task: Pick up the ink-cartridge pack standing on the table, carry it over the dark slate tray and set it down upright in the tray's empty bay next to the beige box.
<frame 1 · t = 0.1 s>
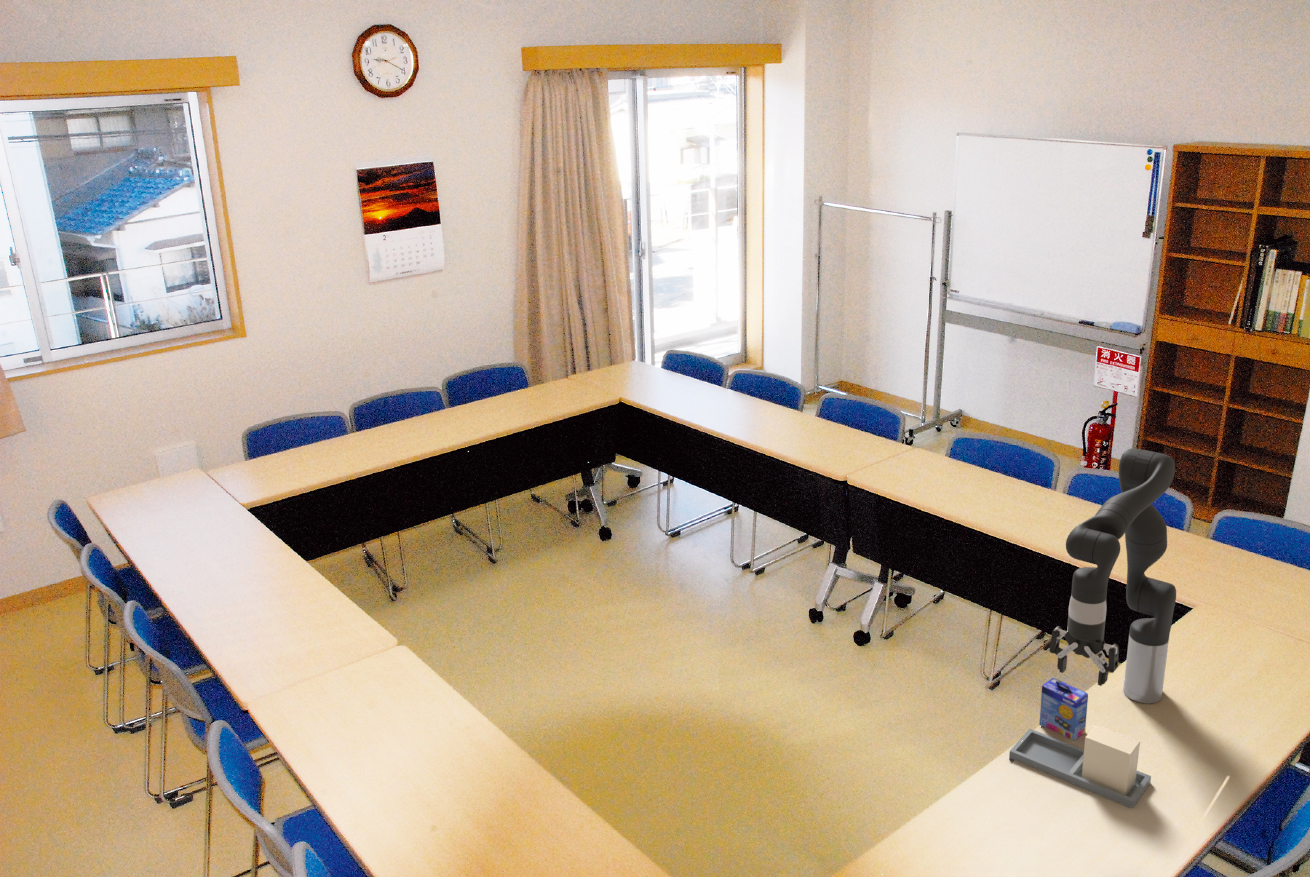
hand: (1081, 677, 233), 29 cm above the table, fingers open, 8 cm apart
beige box: (1108, 781, 242), point 1 cm above the table, touching tray
tray: (1077, 771, 247), on the table
ink cartridge box: (1061, 730, 262), on the table
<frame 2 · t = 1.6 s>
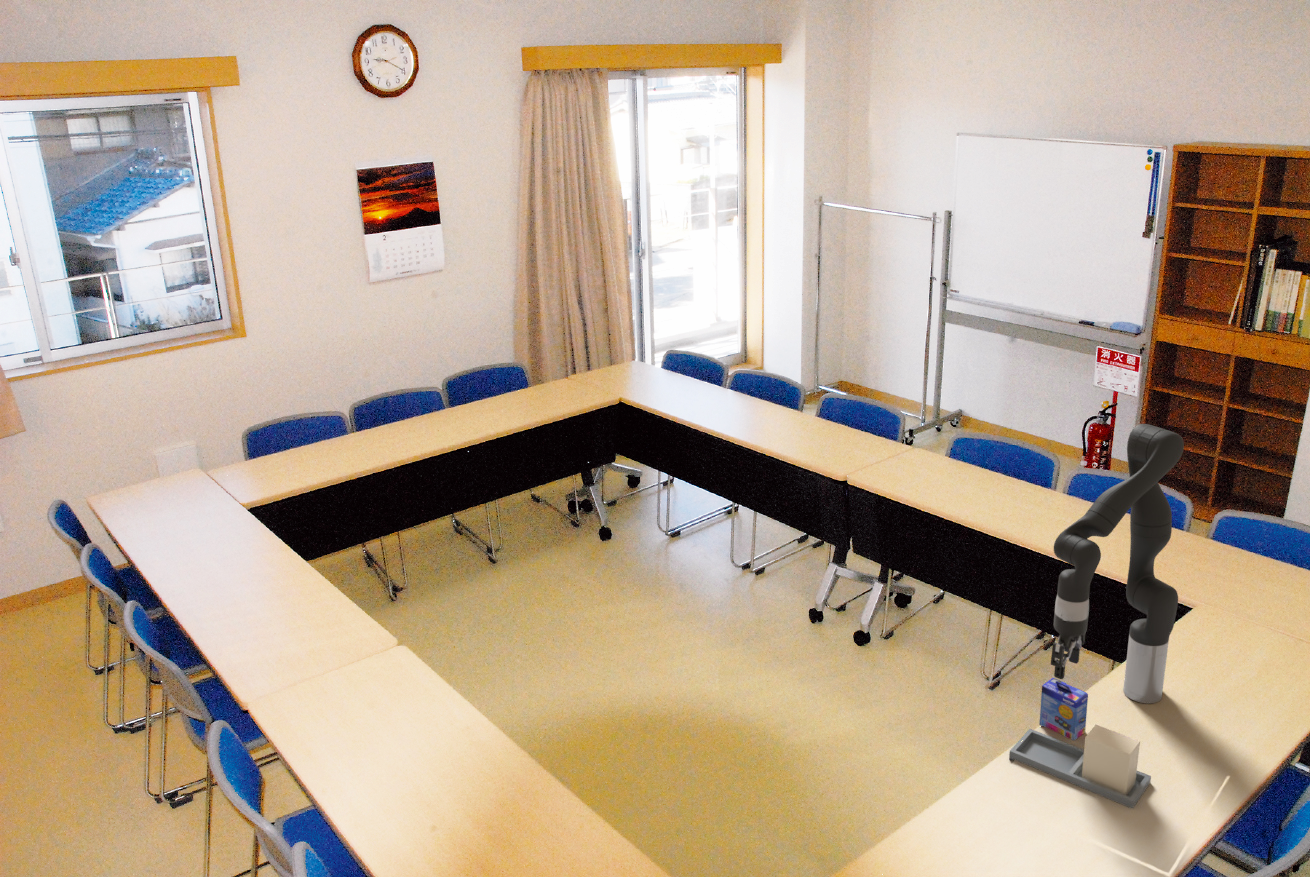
hand: (1066, 669, 256), 18 cm above the table, fingers open, 8 cm apart
nothing on the table moved.
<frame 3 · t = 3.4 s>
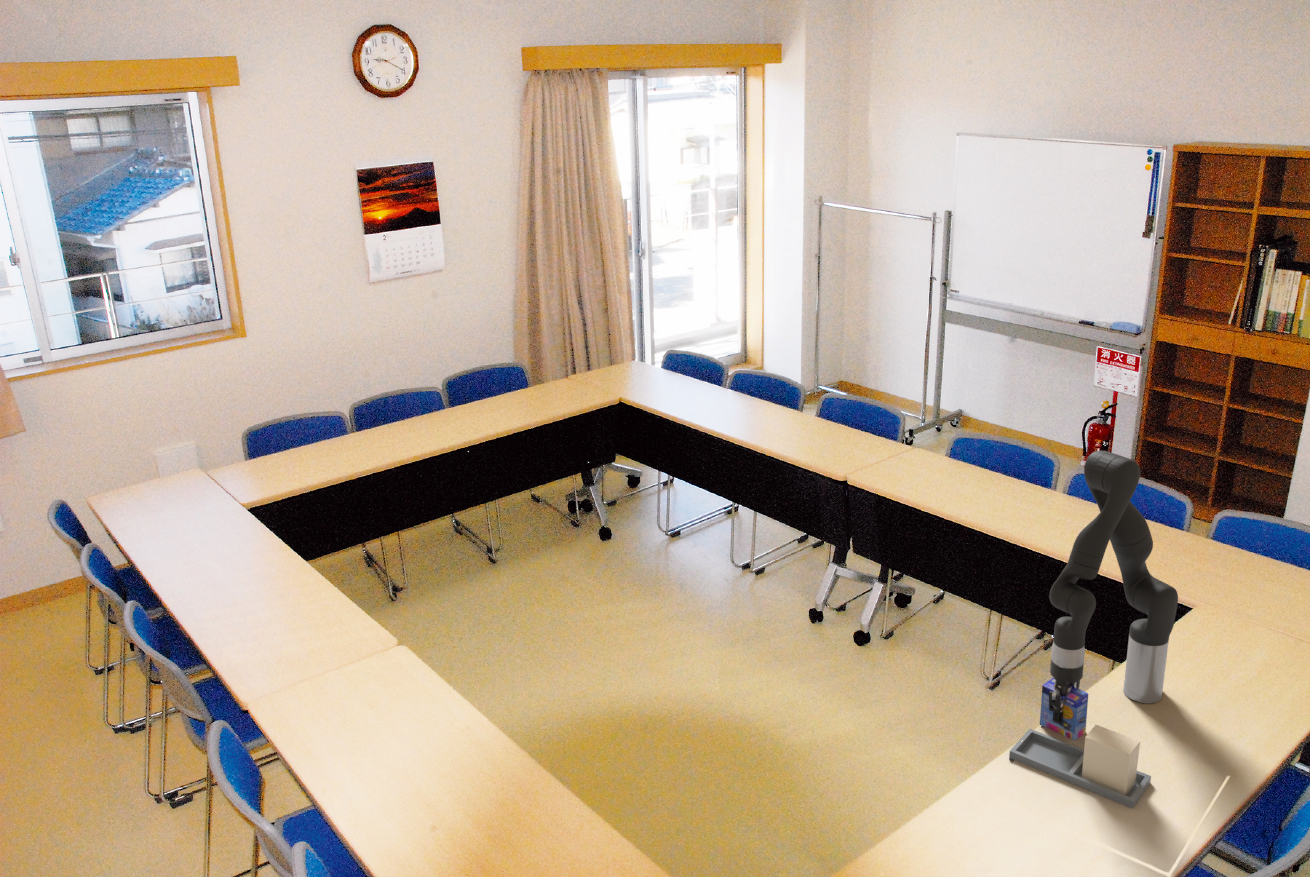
hand: (1062, 716, 260), 4 cm above the table, fingers closed on ink cartridge box, 5 cm apart
ink cartridge box: (1061, 730, 262), on the table, touching gripper
everything else where it was.
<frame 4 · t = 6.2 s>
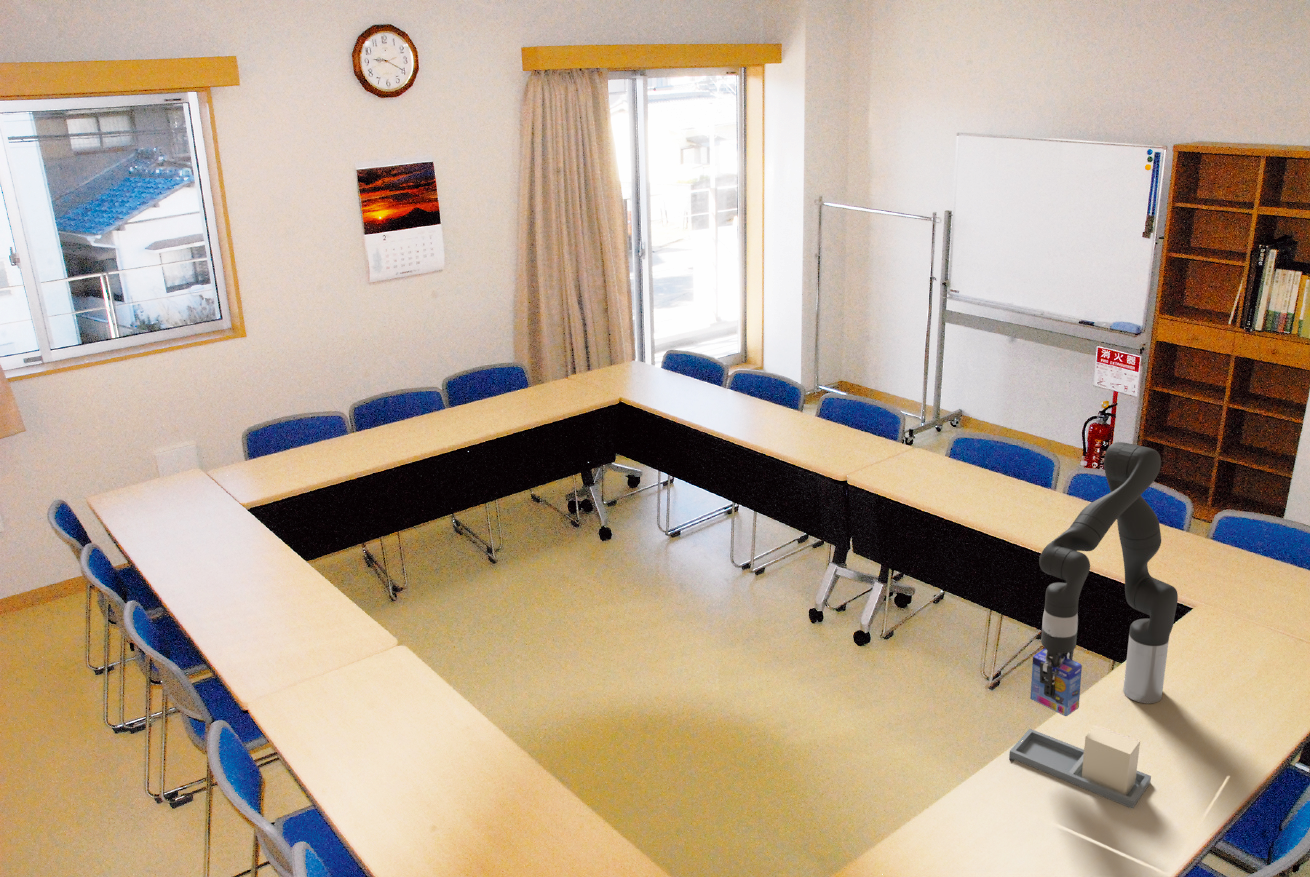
hand: (1054, 689, 245), 20 cm above the table, fingers closed on ink cartridge box, 5 cm apart
ink cartridge box: (1053, 704, 246), point 16 cm above the table, touching gripper
everything else where it was.
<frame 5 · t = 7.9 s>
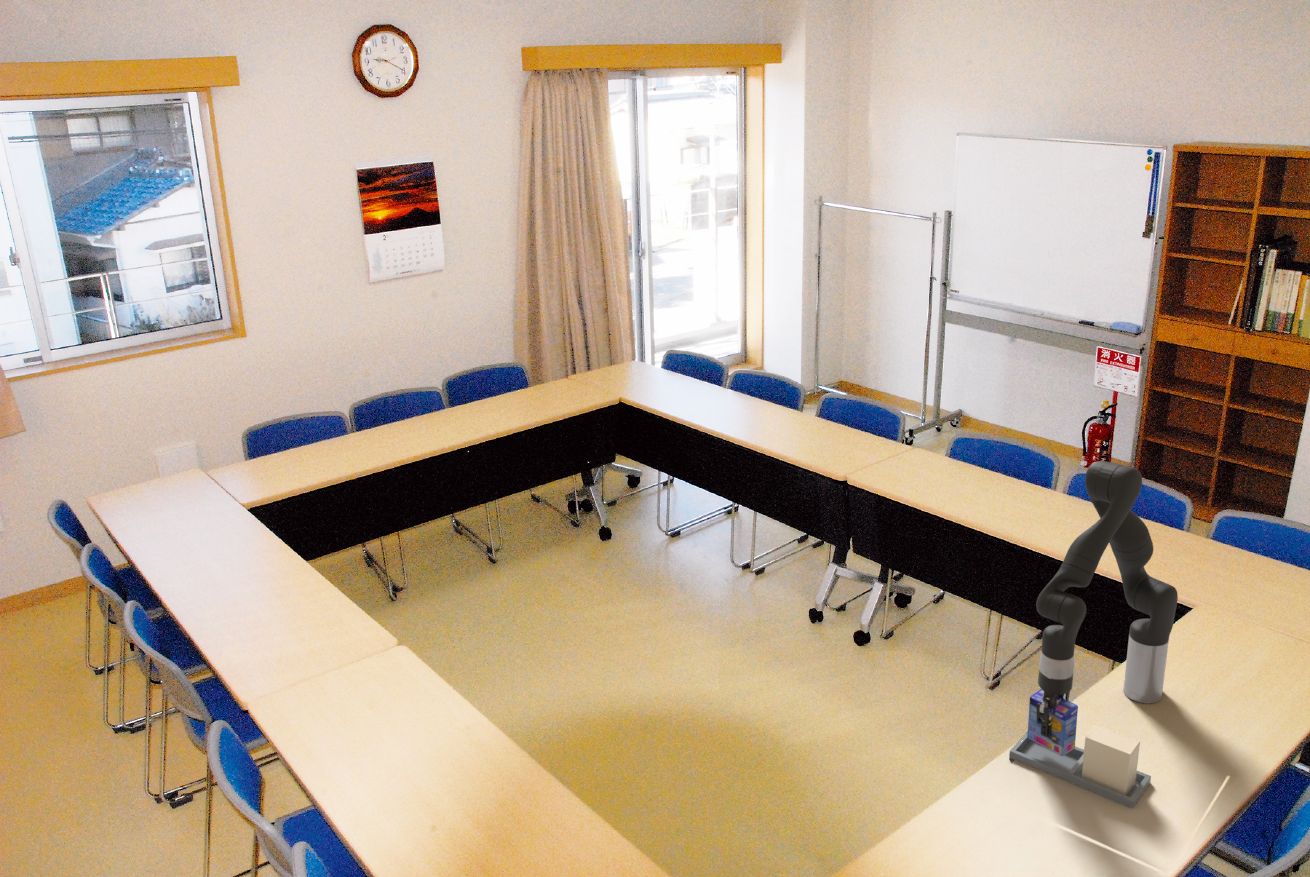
hand: (1051, 729, 249), 9 cm above the table, fingers closed on ink cartridge box, 5 cm apart
ink cartridge box: (1050, 743, 250), point 5 cm above the table, touching gripper
everything else where it was.
when the fingers open (6 cm above the table, at t = 9.2 s): ink cartridge box stays where it is, resting on tray.
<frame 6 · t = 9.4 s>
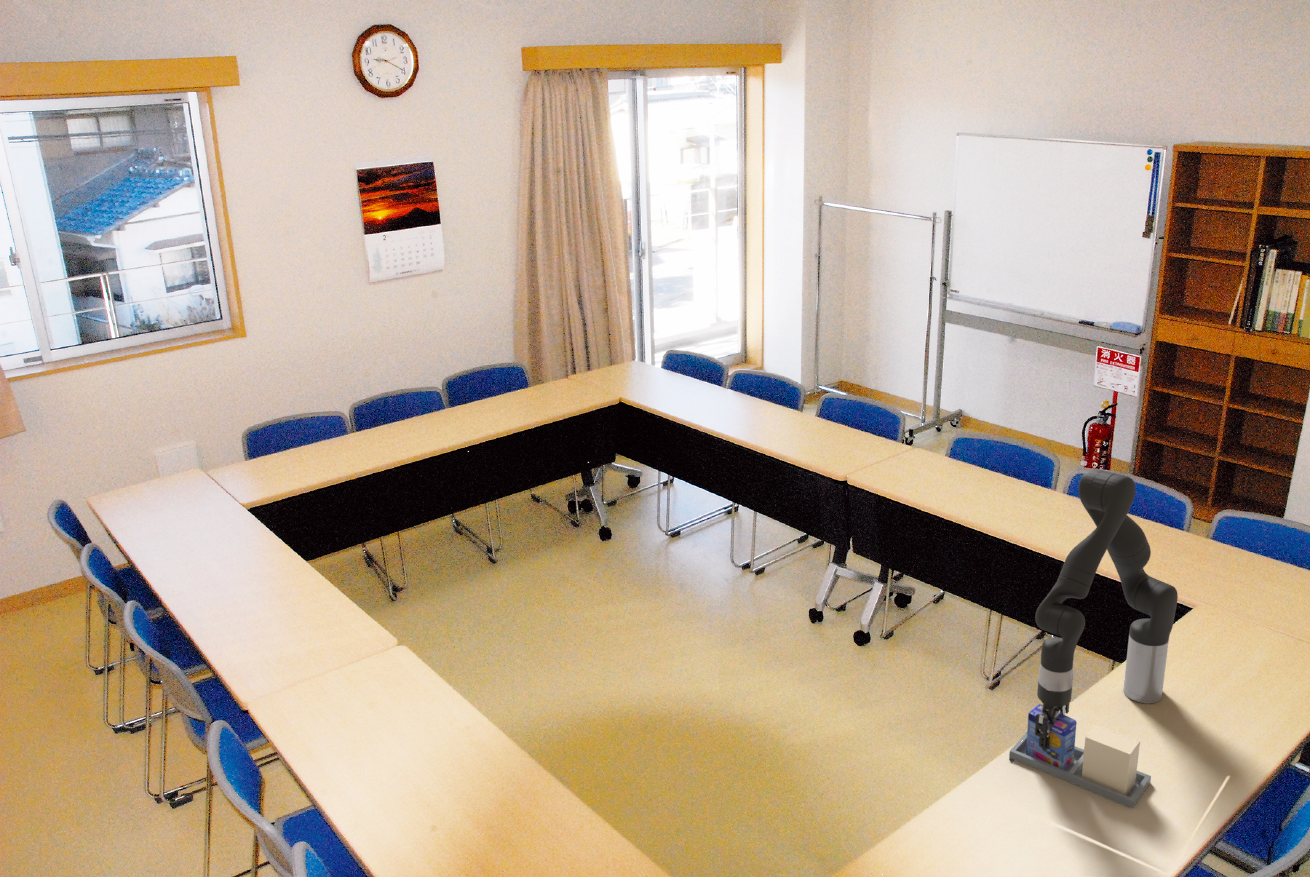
hand: (1050, 739, 250), 6 cm above the table, fingers open, 7 cm apart
ink cartridge box: (1048, 758, 252), resting on tray
everything else where it was.
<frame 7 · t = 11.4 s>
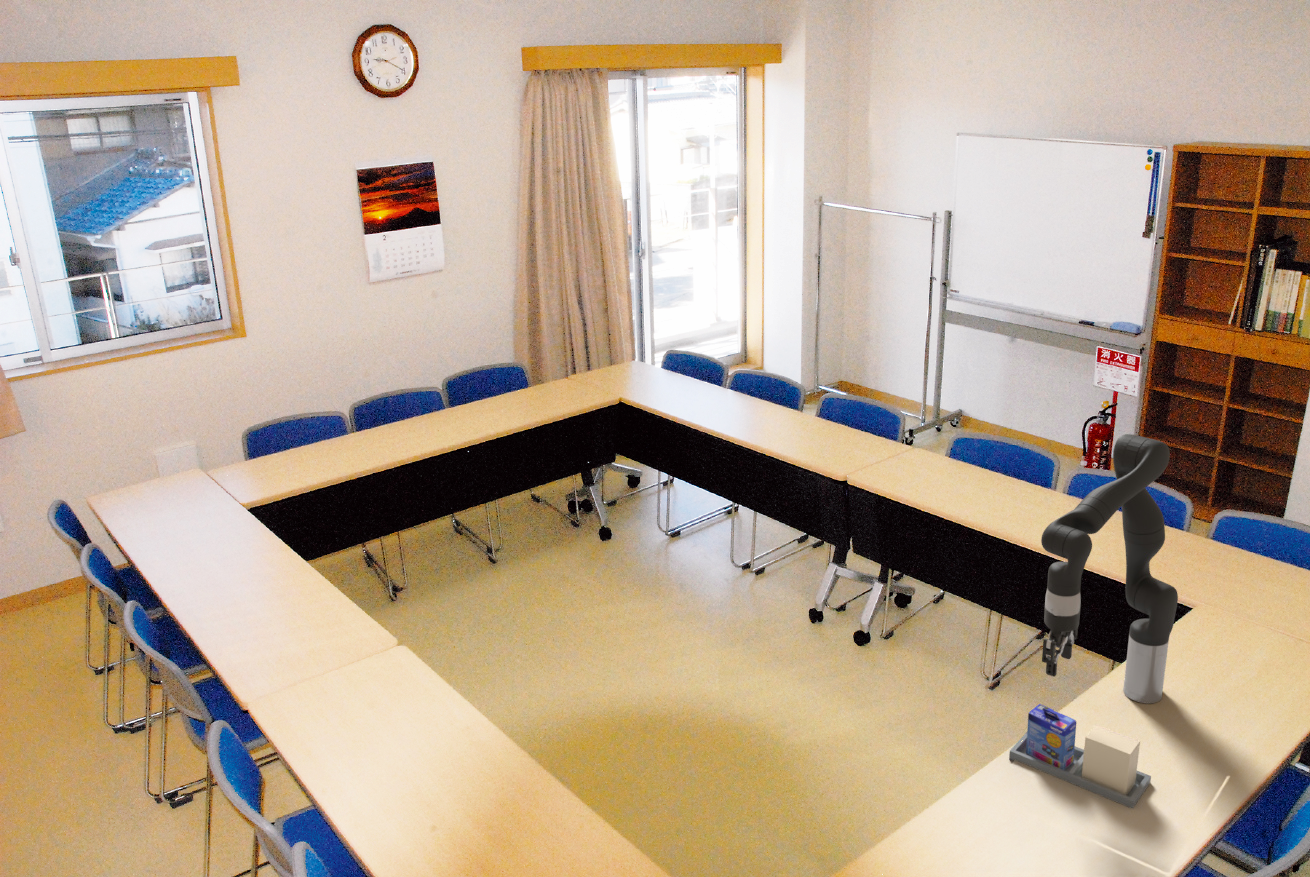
hand: (1058, 666, 245), 25 cm above the table, fingers open, 8 cm apart
nothing on the table moved.
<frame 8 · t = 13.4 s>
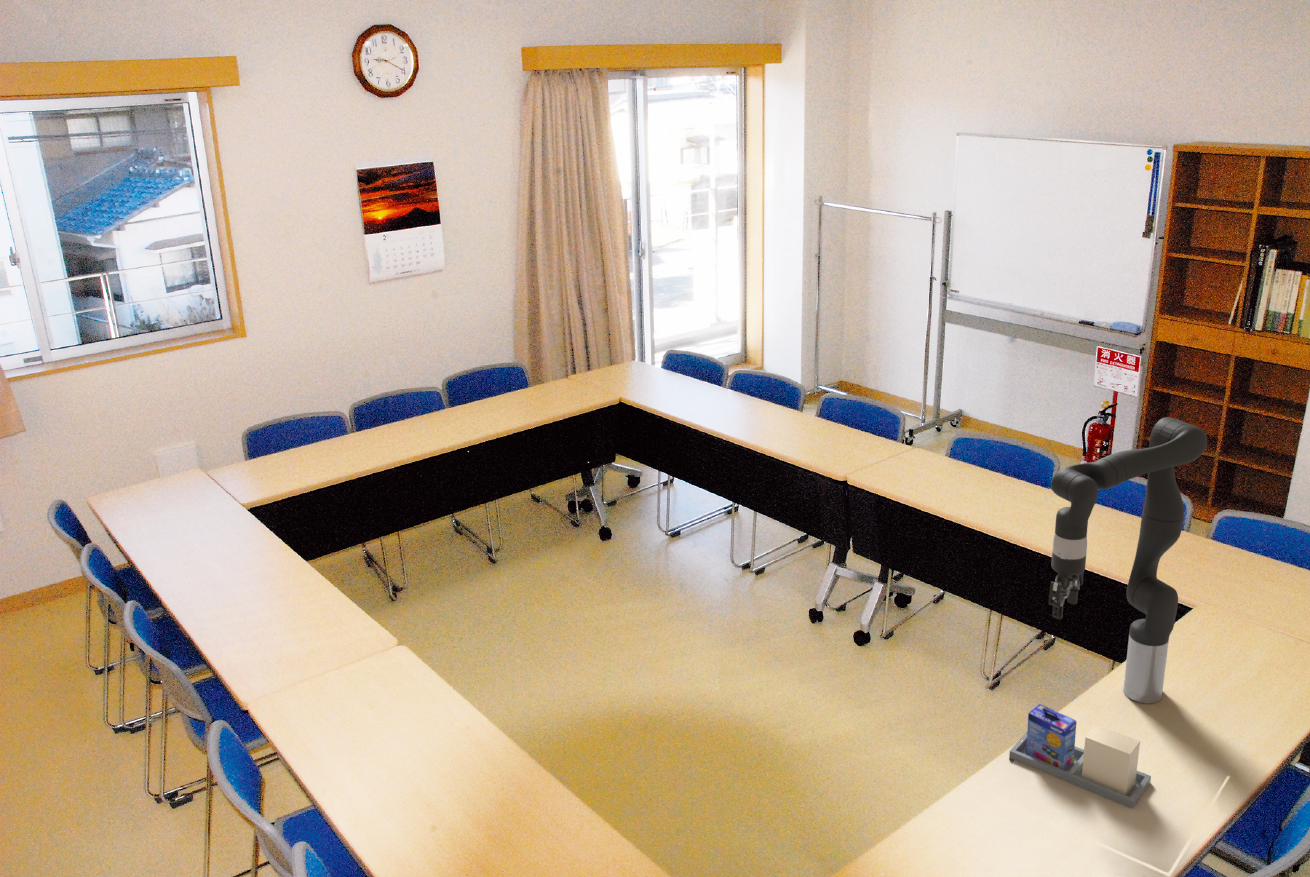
hand: (1064, 610, 252), 33 cm above the table, fingers open, 8 cm apart
nothing on the table moved.
at the end: ink cartridge box inside the target area on the tray (0.3 cm from its centre), point 0.4 cm above the tray's base; ink cartridge box tilted 0°; beige box moved 0.1 cm from its start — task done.
